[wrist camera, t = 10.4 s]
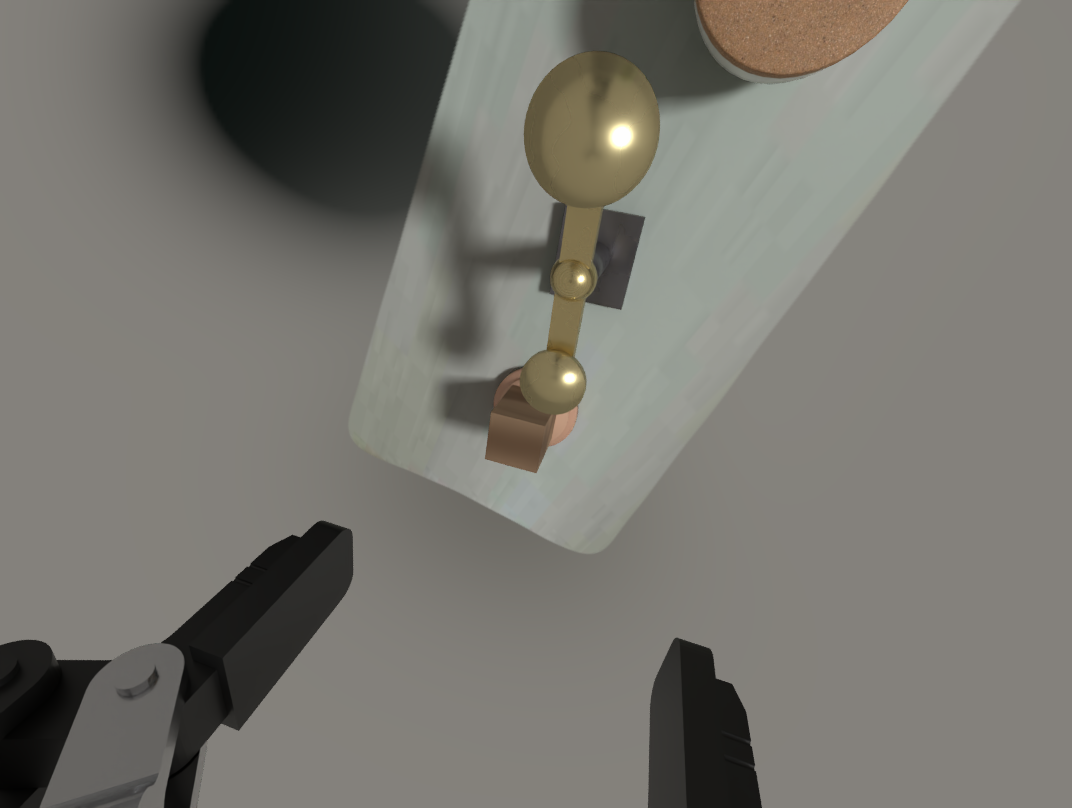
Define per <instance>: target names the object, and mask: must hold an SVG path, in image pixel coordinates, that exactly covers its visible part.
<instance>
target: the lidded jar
mask: <svg viewBox="0 0 1072 808" xmlns="http://www.w3.org/2000/svg"><path fill="white" fill-rule="evenodd" d="M907 2H908V0H694V7H695V13H696V18H697V23H698V27H699V30H700V33H701V36H702V38H703V41H704V43H705V45H706V47H707V48H708V50H709V52H710V54H711V55H712V56H713V57H714V59H715V60H716V61H717V62H718V63H719V65H721V66H722V67H723V68H724V69H726V70H727V71H728V72H729V73H731V74H733V75H735V76H737V77H739V78H741V79H743V80H746V81H750V82H753V83H760V84H779V83H786V82H790V81H794V80H798V79H802V78H805V77H808V76H810V75H812V74H815V73H817V72H820V71H822V70H823V69H825V68H827V67H829V66H832V65H834V64H836V63H837V62H839V61H841V60H842V59H844V58H846V57H848V56H849V55H851V54H853V53H854V52H856V51H857V50H858V49H859V48H861V47H862V46H863V45H865V44H866V43H867V42H869V41H870V40H871V39H873V38H874V37H875V36H876V35H877V34H878V33H879V32H880V31H881V30H882V29H883V28H884V27H885V26H887V25H888V24H889V23H890V22H891V21H892V20H893V19H894V17H895V16H896V15H897V14H898V13H899V11H900V10H901V9H902V8H903V7H904V5H905V4H906V3H907Z"/></svg>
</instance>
